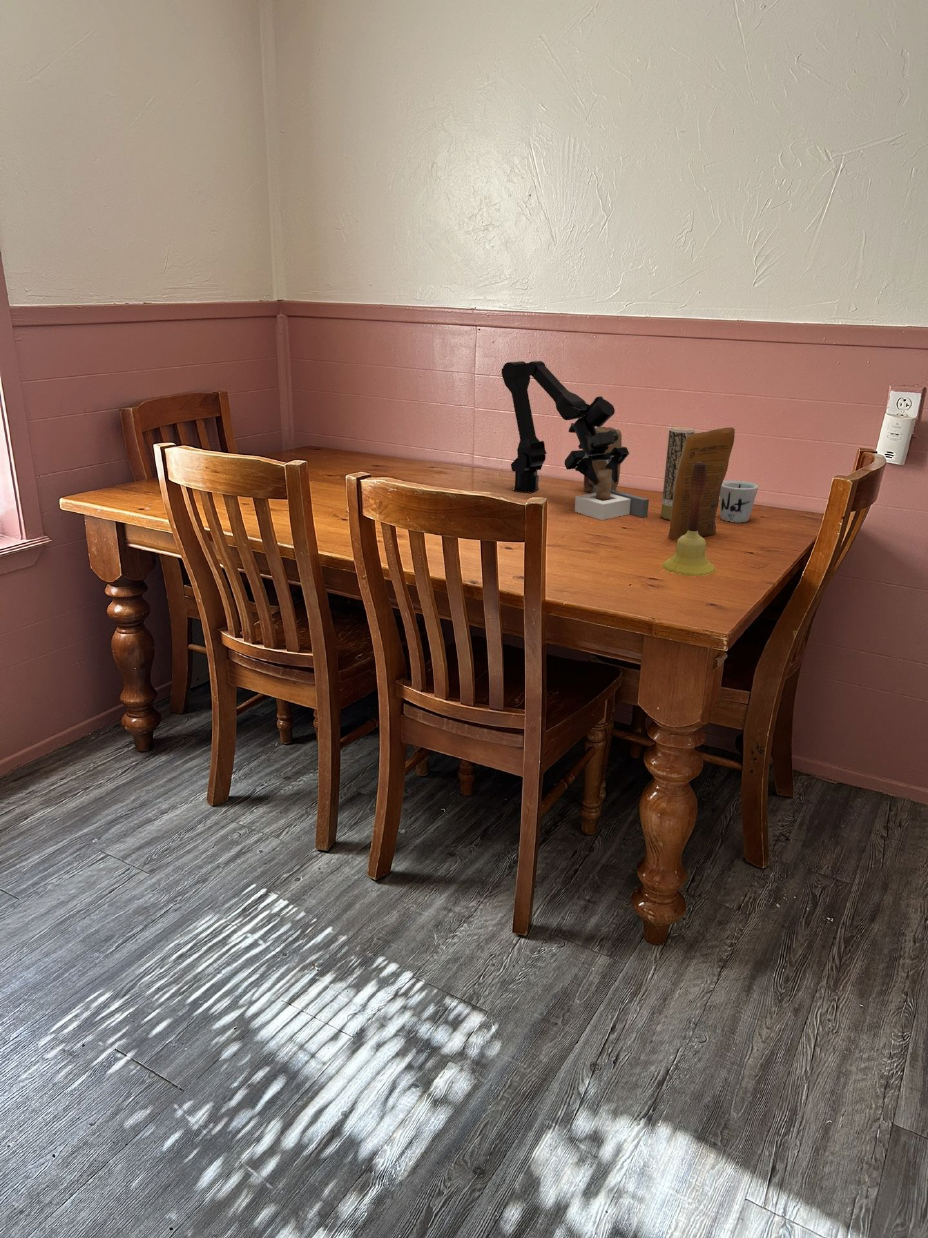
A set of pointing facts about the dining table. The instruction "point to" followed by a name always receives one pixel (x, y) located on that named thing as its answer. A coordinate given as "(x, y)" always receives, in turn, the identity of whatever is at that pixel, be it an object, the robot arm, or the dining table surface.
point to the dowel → (604, 484)
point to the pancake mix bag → (716, 457)
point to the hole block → (602, 506)
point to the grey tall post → (673, 465)
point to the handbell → (692, 534)
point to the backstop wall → (633, 503)
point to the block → (601, 464)
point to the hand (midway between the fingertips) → (607, 482)
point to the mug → (737, 500)
